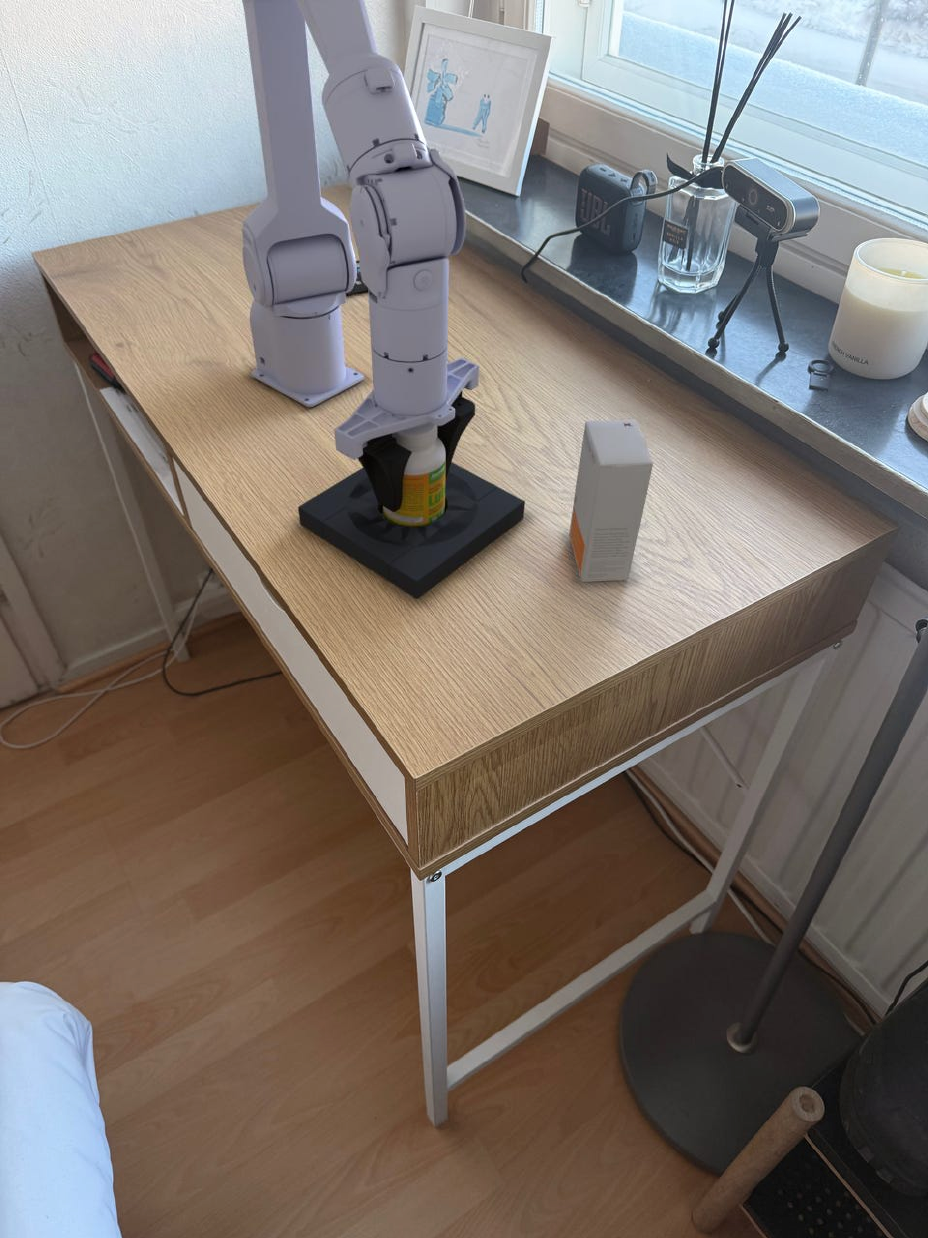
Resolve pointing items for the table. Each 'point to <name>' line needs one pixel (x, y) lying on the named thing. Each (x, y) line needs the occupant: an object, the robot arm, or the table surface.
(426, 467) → the supplement bottle
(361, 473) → the socket pad
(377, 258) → the robot arm
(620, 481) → the cosmetic box
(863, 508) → the table surface
